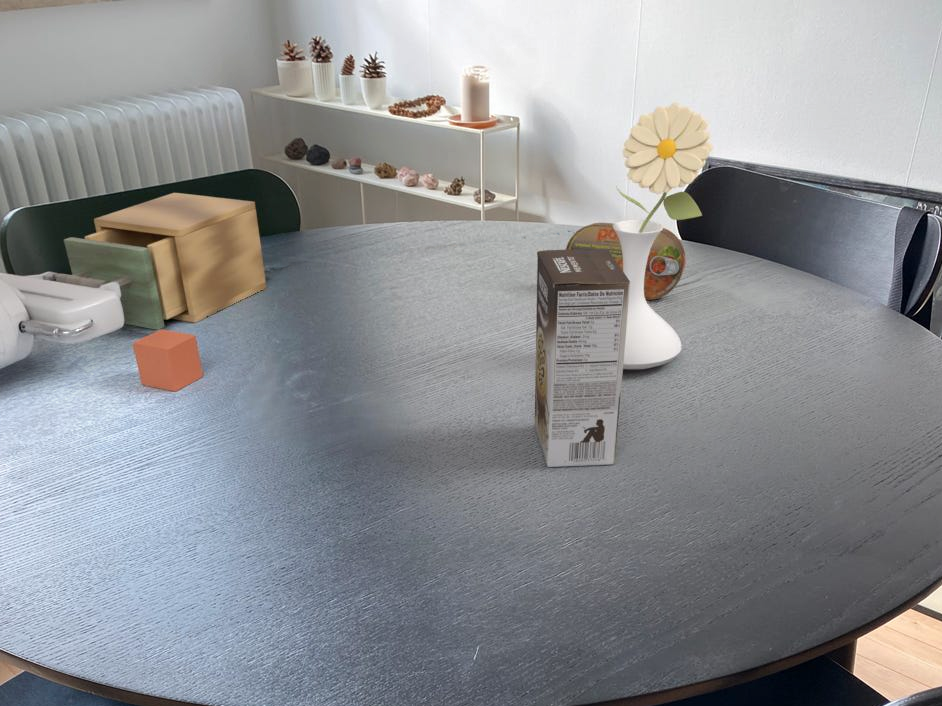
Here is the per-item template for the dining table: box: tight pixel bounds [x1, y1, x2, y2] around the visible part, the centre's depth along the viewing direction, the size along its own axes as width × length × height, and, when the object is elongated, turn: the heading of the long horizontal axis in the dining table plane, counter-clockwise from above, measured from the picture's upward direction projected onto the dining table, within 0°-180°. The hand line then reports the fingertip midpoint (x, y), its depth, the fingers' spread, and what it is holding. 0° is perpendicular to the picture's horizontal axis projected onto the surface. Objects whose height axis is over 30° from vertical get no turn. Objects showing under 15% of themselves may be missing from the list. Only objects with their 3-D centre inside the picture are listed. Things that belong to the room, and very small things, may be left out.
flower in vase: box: [613, 102, 713, 370], centre depth 99 cm, size 13×11×25 cm
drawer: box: [56, 228, 188, 331], centre depth 116 cm, size 18×11×9 cm, turn 155°
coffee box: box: [534, 248, 630, 468], centre depth 85 cm, size 9×6×16 cm
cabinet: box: [93, 192, 267, 323], centre depth 122 cm, size 15×13×11 cm
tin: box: [565, 222, 686, 301], centre depth 122 cm, size 15×3×8 cm, turn 68°
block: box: [132, 328, 204, 393], centre depth 102 cm, size 4×4×4 cm
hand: (85, 283), depth 109 cm, fingers closed on drawer, 7 cm apart
